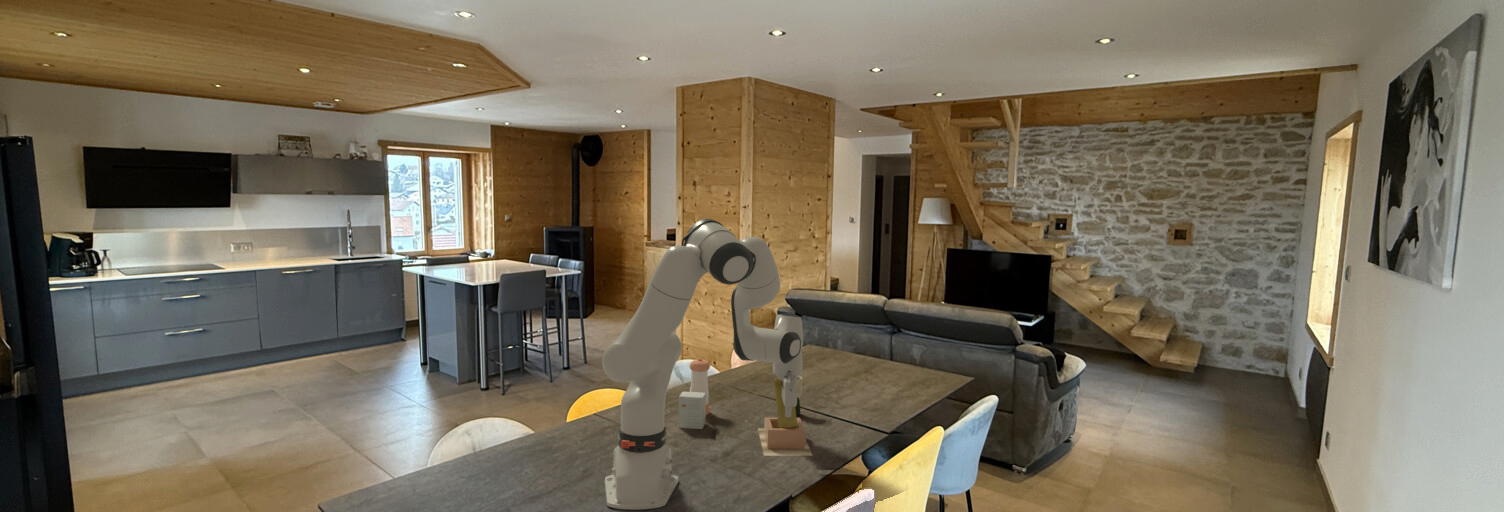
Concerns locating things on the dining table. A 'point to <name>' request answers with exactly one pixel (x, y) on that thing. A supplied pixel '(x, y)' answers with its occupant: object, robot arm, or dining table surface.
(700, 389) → the pepper shaker
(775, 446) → the pink open box
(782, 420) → the vase
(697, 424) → the small box
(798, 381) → the character mug
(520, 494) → the dining table surface
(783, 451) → the board
